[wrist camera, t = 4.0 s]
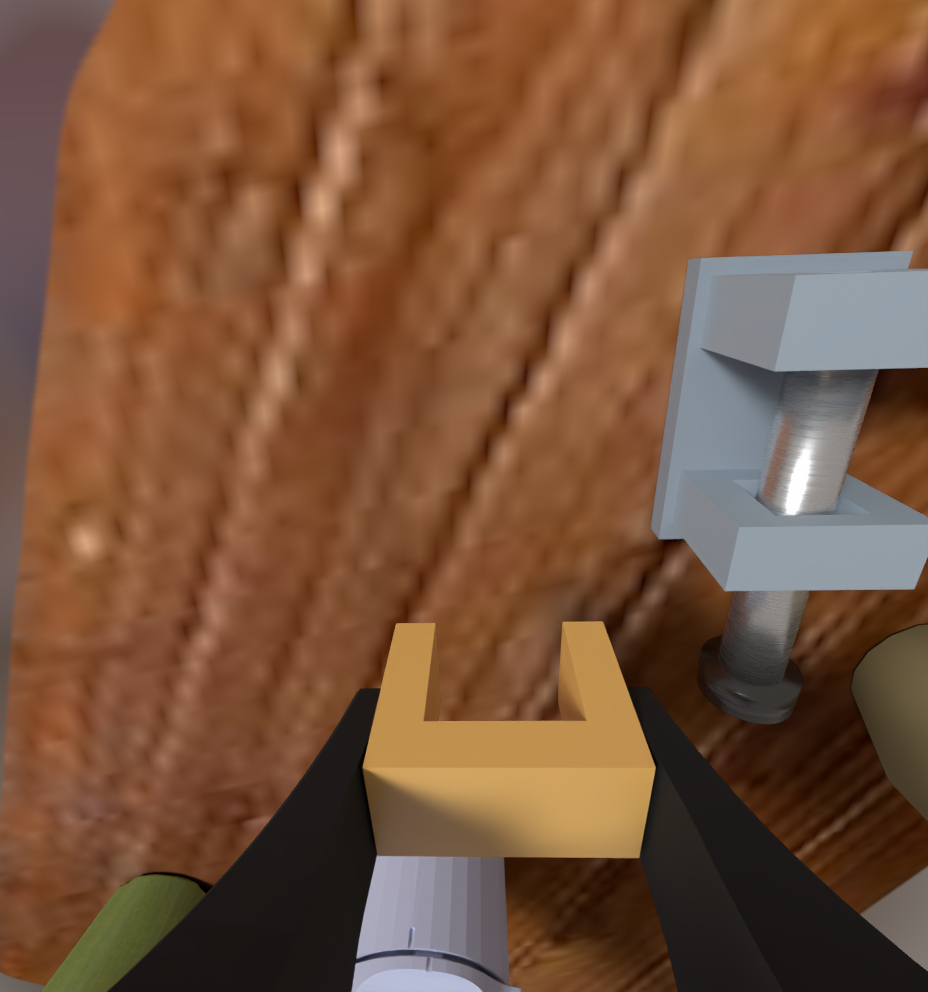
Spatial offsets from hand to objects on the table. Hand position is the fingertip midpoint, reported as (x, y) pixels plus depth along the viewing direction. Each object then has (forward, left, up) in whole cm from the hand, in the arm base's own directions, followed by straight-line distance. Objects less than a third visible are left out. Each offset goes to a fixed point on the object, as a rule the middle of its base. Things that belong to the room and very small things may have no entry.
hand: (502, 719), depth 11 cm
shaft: (+1, -10, -8) cm, 13 cm away
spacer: (0, 0, -2) cm, 2 cm away
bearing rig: (+5, -10, -10) cm, 15 cm away
